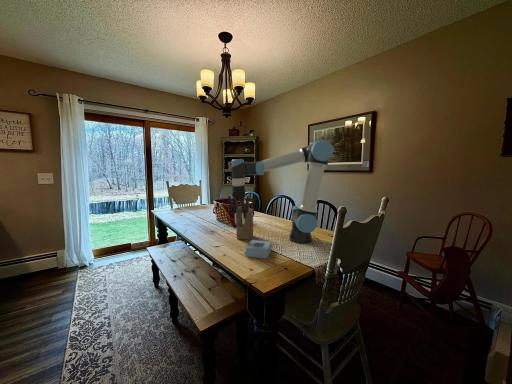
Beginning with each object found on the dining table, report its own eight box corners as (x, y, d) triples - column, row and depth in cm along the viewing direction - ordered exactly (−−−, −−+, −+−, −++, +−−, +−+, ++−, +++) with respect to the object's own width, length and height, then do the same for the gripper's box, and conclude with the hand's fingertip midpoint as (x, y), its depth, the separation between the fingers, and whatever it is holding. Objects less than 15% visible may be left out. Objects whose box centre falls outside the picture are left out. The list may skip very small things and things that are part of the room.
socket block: (271, 249, 123) (271, 241, 122) (267, 258, 111) (267, 249, 110) (252, 247, 126) (252, 240, 125) (246, 256, 114) (246, 247, 114)
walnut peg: (244, 225, 127) (243, 206, 126) (242, 227, 124) (241, 207, 122) (238, 225, 128) (237, 206, 127) (236, 226, 125) (235, 207, 123)
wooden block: (250, 240, 139) (250, 211, 136) (236, 239, 141) (235, 210, 138) (253, 235, 148) (253, 208, 146) (240, 234, 150) (239, 207, 148)
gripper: (253, 184, 124) (255, 222, 127) (227, 184, 129) (229, 221, 132) (250, 185, 117) (251, 225, 120) (222, 186, 121) (224, 224, 124)
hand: (240, 223), depth 126 cm, fingers closed on walnut peg, 4 cm apart
